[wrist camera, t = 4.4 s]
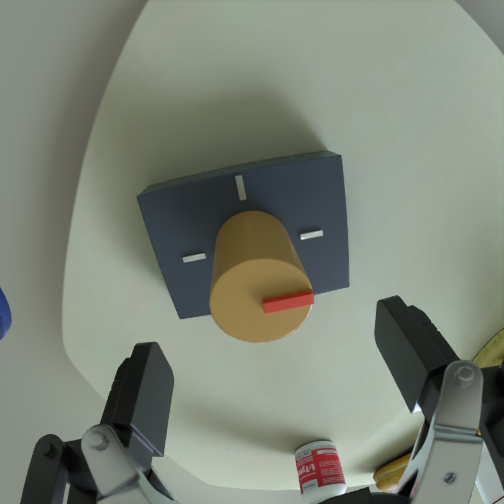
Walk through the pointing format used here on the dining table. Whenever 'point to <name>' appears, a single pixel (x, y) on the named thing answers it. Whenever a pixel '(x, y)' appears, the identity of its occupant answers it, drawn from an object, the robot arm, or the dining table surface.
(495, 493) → the container
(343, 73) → the dining table surface
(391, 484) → the bread
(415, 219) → the dining table surface
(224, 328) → the tan cylinder
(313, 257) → the dial base block
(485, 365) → the figurine
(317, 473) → the pill bottle
